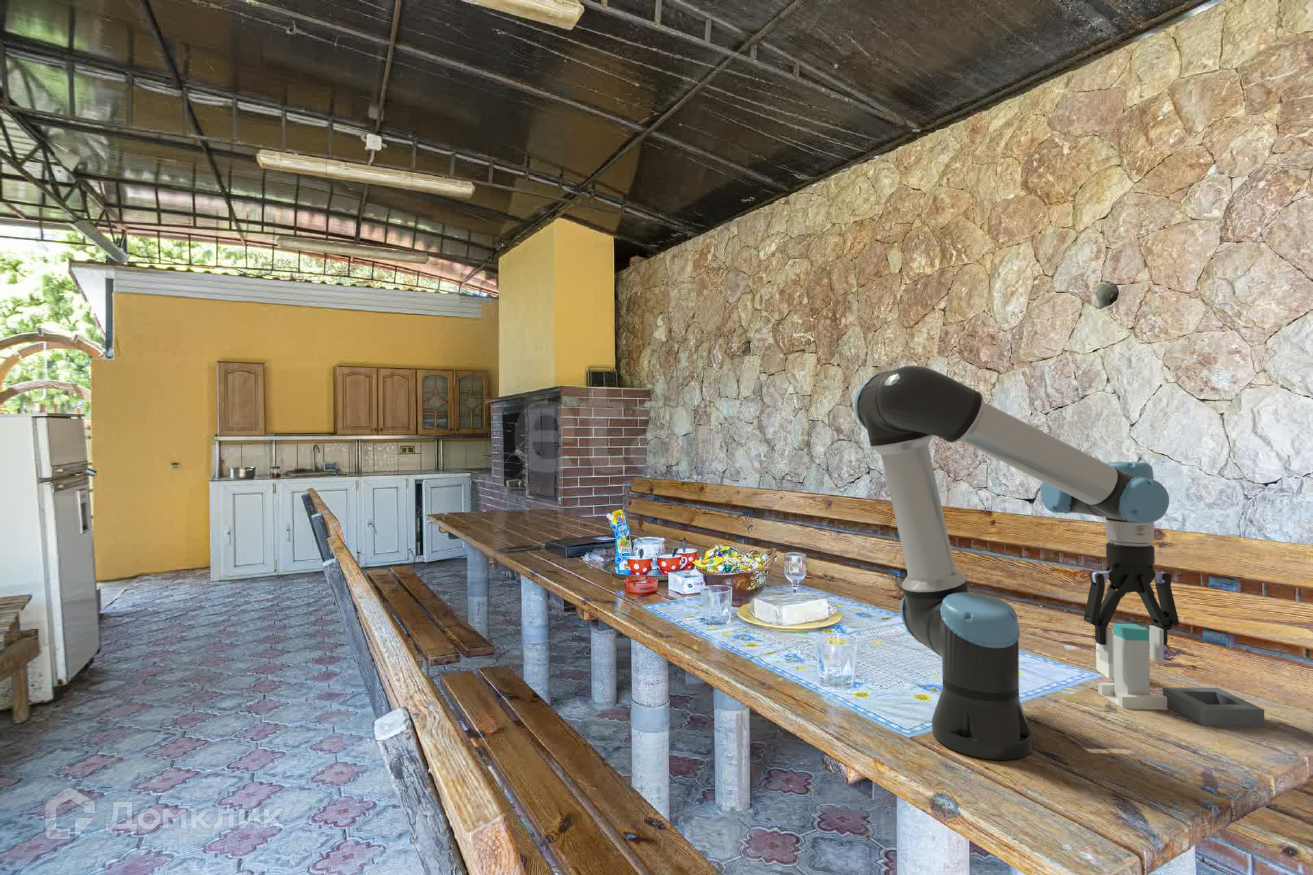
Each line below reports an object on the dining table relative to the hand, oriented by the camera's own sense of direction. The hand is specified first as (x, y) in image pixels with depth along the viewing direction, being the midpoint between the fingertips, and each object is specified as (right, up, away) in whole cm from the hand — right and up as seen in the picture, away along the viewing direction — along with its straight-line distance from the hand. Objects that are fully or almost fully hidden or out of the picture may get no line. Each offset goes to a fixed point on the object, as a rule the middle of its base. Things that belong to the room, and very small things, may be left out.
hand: (1131, 661), depth 126 cm
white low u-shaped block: (0, -8, 0) cm, 8 cm away
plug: (0, -7, 0) cm, 7 cm away
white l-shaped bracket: (+6, -8, +14) cm, 17 cm away
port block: (+10, -8, -7) cm, 14 cm away
